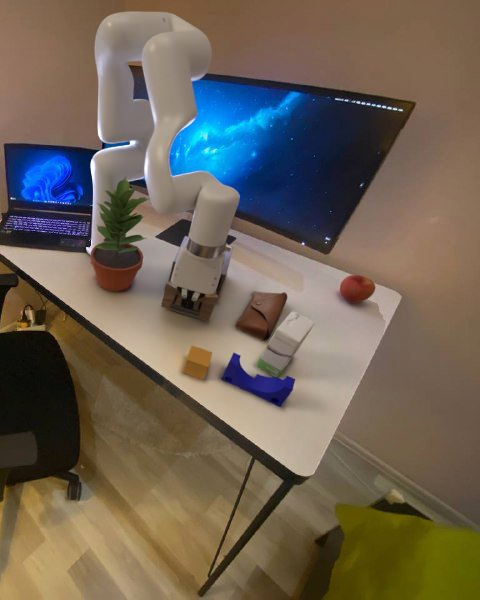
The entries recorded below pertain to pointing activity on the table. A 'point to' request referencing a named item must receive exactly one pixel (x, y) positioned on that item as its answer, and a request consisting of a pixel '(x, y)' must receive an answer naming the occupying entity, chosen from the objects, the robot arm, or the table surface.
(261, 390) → the blue cradle holder
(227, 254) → the cabinet
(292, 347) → the ink box
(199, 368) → the block
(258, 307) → the sunglasses case
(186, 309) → the drawer
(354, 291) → the apple
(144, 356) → the table surface
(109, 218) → the potted plant
